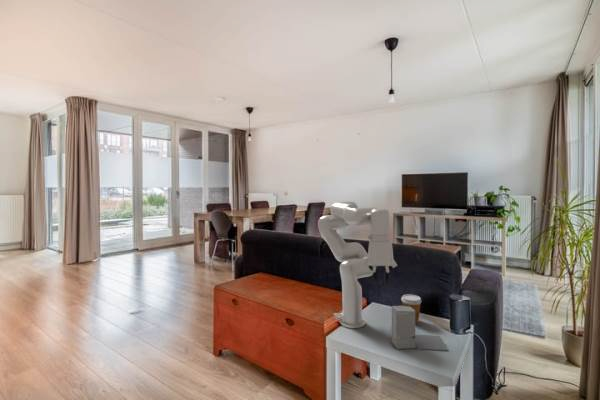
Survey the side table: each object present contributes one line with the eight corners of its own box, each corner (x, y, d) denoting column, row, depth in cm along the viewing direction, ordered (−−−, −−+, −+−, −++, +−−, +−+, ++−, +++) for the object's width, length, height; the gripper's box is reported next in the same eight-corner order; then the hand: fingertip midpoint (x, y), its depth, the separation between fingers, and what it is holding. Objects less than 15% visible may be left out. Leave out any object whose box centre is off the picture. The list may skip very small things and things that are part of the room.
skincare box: (396, 349, 125) (395, 311, 124) (390, 341, 132) (390, 305, 131) (416, 348, 125) (416, 311, 124) (410, 340, 132) (409, 304, 131)
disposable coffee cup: (418, 317, 155) (418, 294, 154) (424, 325, 145) (424, 301, 145) (399, 316, 156) (399, 293, 155) (403, 325, 146) (403, 300, 146)
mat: (417, 349, 124) (417, 348, 124) (411, 335, 136) (411, 334, 136) (448, 351, 123) (448, 350, 122) (439, 336, 134) (439, 335, 134)
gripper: (360, 239, 125) (361, 283, 126) (402, 239, 123) (402, 284, 124) (359, 236, 133) (360, 278, 134) (399, 236, 130) (399, 279, 131)
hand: (380, 280), depth 129 cm, fingers open, 3 cm apart
